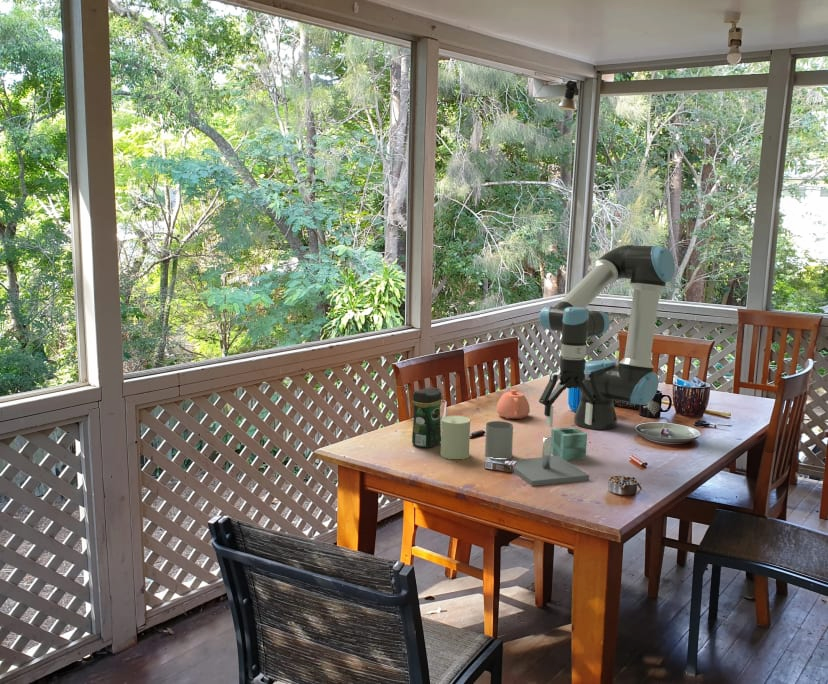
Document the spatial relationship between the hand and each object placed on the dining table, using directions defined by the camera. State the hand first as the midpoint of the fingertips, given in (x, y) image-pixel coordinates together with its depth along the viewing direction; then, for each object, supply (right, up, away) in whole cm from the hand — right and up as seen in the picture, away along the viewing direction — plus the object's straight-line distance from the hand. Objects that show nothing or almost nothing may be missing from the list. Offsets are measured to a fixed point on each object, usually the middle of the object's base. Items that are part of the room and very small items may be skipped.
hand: (568, 425), depth 238 cm
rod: (-9, -11, -14) cm, 20 cm away
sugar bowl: (-11, -2, +46) cm, 47 cm away
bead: (0, -10, +2) cm, 10 cm away
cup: (-22, -10, +1) cm, 24 cm away
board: (-9, -12, -14) cm, 21 cm away
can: (-35, -10, +1) cm, 37 cm away
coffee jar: (-44, -8, +12) cm, 46 cm away
